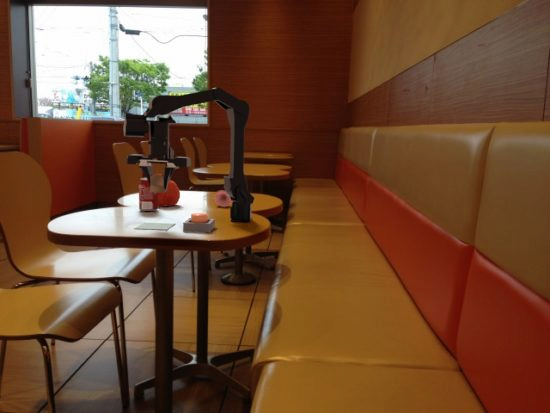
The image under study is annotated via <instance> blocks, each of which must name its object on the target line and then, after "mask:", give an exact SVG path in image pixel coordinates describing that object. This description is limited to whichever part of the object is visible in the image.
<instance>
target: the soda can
mask: <svg viewBox="0 0 550 413" xmlns="http://www.w3.org/2000/svg"><path fill="white" fill-rule="evenodd" d="M138 209H139V211H142V212H143V211H153V212H156V211H158V210H159V206H158V193H154V192H150V185H149V183H148V180H147V178H146V177H141V178H140V180H139V182H138Z"/></svg>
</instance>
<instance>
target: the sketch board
mask: <svg viewBox="0 0 550 413" xmlns="http://www.w3.org/2000/svg"><path fill="white" fill-rule="evenodd" d="M173 225H174V226H175V225H176V223H170V222H169V223H168V222H167V223H164V222H163V223H162V222H143V223H141V224H139V225H138V226H135V227H134V228H133V229H134V230H148V229H152V230H154V231H155V230H156V231H168V230H169V228H170V229H171V228H172V227H174V226H173ZM152 230H151V231H152Z"/></svg>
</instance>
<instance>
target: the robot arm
mask: <svg viewBox="0 0 550 413" xmlns="http://www.w3.org/2000/svg"><path fill="white" fill-rule="evenodd" d="M213 101H214V102H215V104H217V105H218V106H220V107H221V109H223V110H224V111H226V116H227V121H228V123H229V128H230V157H229V158H230V159H229V160H230V161H229V173H228V176H227V175H224V176H223V183H224V185H223V189H224V192H225V191H226V193H227V194H228V195H229V196H230V198H231V202H232V203H231V205H230V207H229V209H230V212H229V218H230V222H238V223H239V222H240V223H241V222H242V223H243V222H244V223H247V222H248V223H250V222H251V221H252V218H253V217H252V205H253V204H254V200H255V197H254V196H253V194H251V193H250V191H249V188H248V182H247V178H246V175H245V172H244V170H245V169H244V166H245V165H244V162H245V129H246V126H247V124H248V120H249V116H250V112H251V108H250V105H249V103H248V102H247V101H245V100H243V99H239V98H238V97H236V96H235V95H233V94H231V93H229V92H227V91H226V90H224V89H223V88H222V87H220V86H219V87H214V88H210V89H207V90H201V91H197V92H190V93H185V94H180V95H176V94H173V95H172V94H169V95H168V94H167V95H163V94H162V95H161V94H160V95H156V96H154V97H151V98H150V100H149V101H148V107H147V109H146V110H145V111H144V112H143V114H134V113H130V112H127V113H124V122H123V136H124V137H130V138H133V137H134V138H145V135H147V134H149V140H148V143H147V144H148V145H149V154H148V155H147V157H146V156H145V154H128V155H127V156H126V161H125V163H126V165H138V168H141V170H142V172H143V174H144V176H145V178H147V180H148V183H149V185H150V177H151V176H153V175H154V172H153V170H154V164H161V165H167V166H164V173H163V174H164V188H165V189H167V187H168V184H169V181H170V180H171V178H172V176H173V173H174V172H175V170H178V169H179V168H188V167H189V168H190V167H192V160H191V158H190V157H189V156H174V155H175V150H174V149H173V148H172V147H171V143H170V141H169V140H170V124H176V123H177V121H176V120H175V119H174V118H173V117H172V115H169V114H170V113H173V112H175V111H177V110H180V109H182V108H186V107H191V106H195V105H200V104H204V103H208V102H213ZM164 115H168V116H167V117H162V116H164ZM157 116H161V117H157ZM155 117H156V120H152V119H153V118H155ZM149 119H151V120H149ZM152 164H153V165H152Z"/></svg>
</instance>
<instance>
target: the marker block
mask: <svg viewBox="0 0 550 413" xmlns="http://www.w3.org/2000/svg"><path fill="white" fill-rule="evenodd" d="M164 174H165V173H153V176H151V177H150V192H154V193H165V192H167V189H165V188H164Z"/></svg>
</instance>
